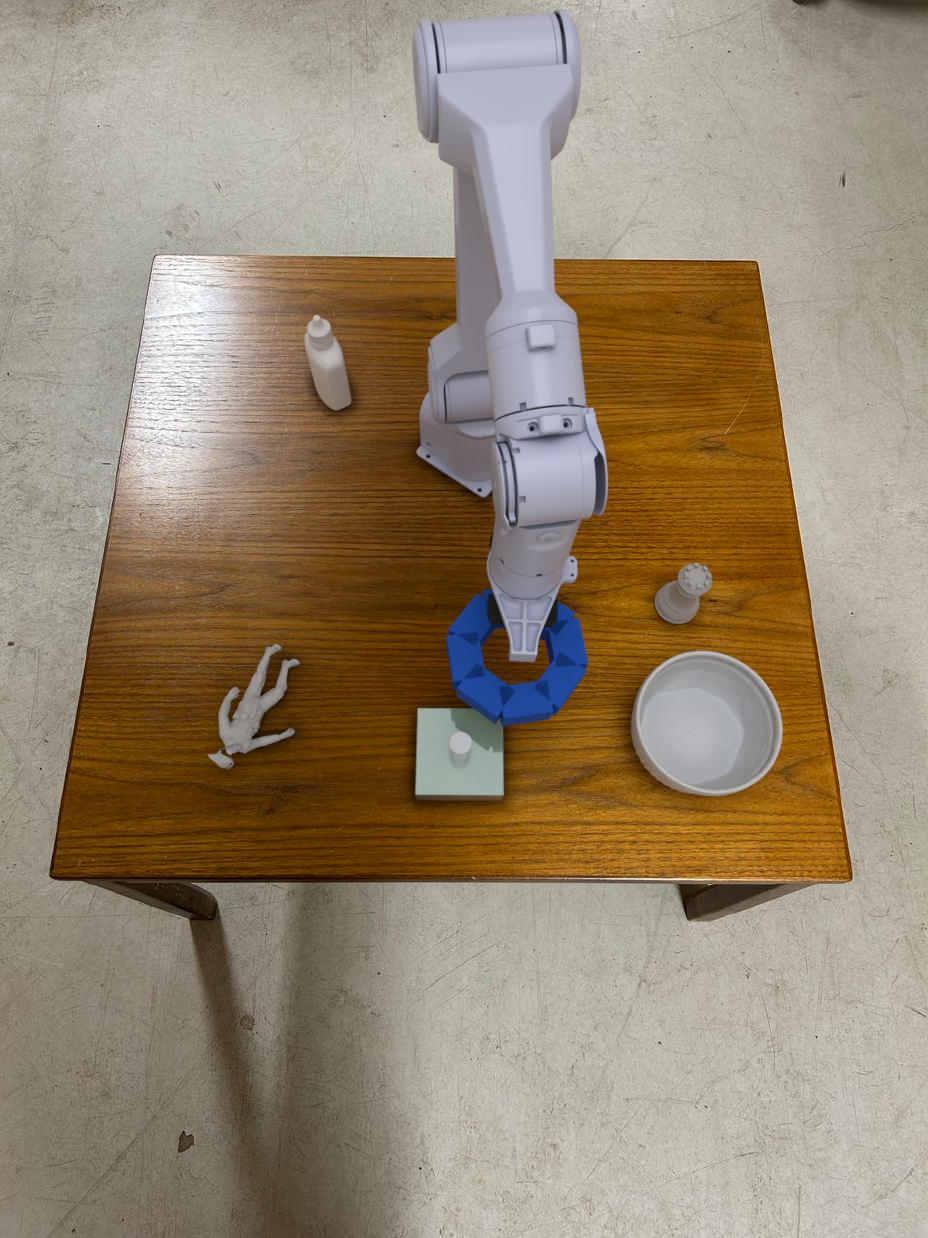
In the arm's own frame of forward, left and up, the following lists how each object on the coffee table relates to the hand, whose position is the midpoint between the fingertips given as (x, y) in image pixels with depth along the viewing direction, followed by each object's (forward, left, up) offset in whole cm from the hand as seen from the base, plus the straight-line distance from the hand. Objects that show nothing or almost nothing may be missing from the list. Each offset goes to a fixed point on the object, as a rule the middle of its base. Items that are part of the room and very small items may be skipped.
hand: (516, 607), depth 69 cm
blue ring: (+2, -4, -1) cm, 5 cm away
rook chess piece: (+12, +14, -11) cm, 21 cm away
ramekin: (+19, +3, -11) cm, 22 cm away
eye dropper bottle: (-34, +13, -11) cm, 37 cm away
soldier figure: (-15, -20, -11) cm, 28 cm away
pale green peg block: (+3, -12, -10) cm, 16 cm away
